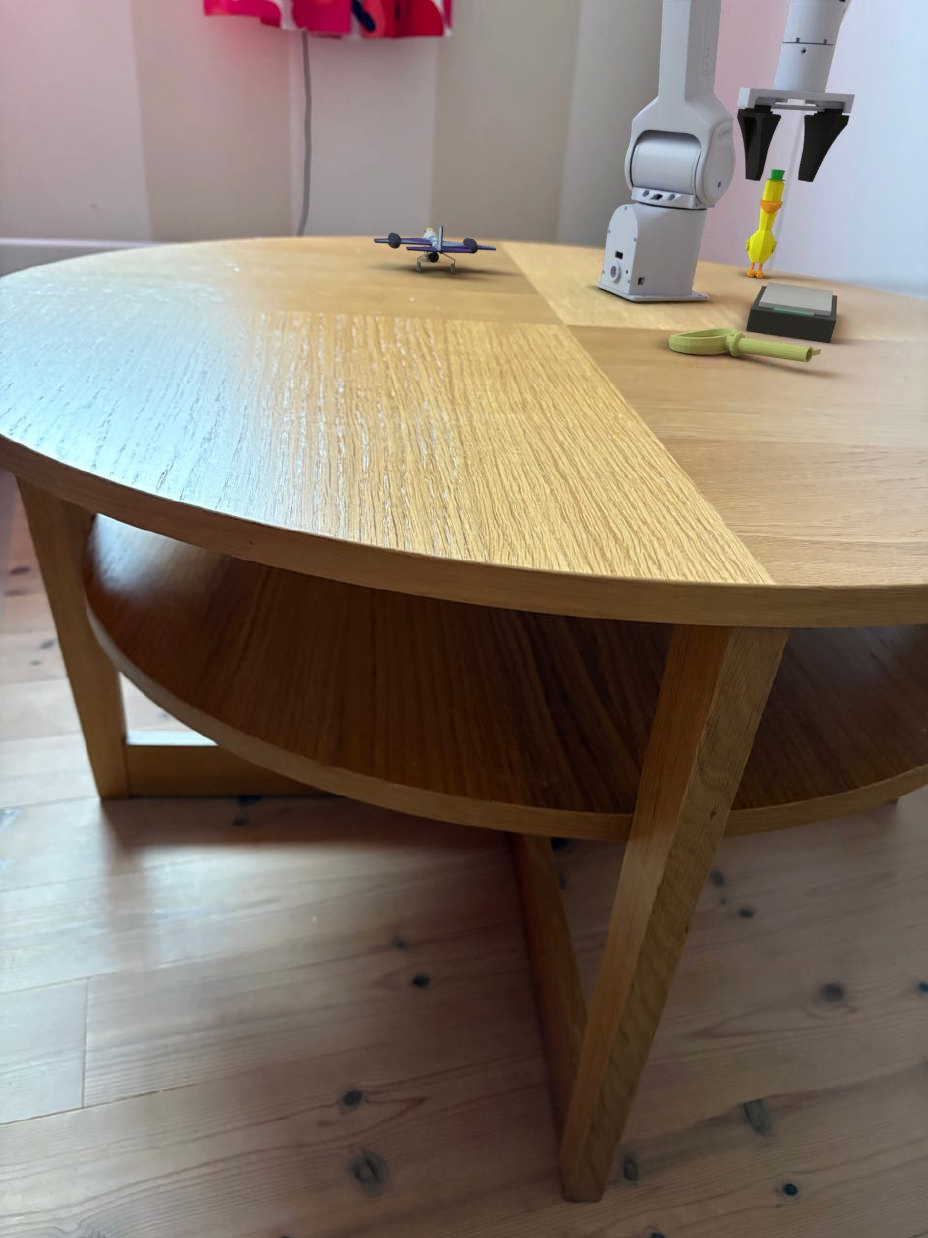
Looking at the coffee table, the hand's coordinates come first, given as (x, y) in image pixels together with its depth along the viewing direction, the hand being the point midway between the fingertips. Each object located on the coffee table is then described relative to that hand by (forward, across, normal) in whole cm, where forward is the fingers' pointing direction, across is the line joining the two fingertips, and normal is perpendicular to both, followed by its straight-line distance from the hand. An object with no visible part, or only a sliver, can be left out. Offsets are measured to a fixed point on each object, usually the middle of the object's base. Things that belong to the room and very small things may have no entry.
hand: (779, 180), depth 106 cm
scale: (+10, +14, +24) cm, 29 cm away
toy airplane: (+10, +42, -4) cm, 43 cm away
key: (+10, +28, +35) cm, 46 cm away
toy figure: (+11, +1, 0) cm, 11 cm away
